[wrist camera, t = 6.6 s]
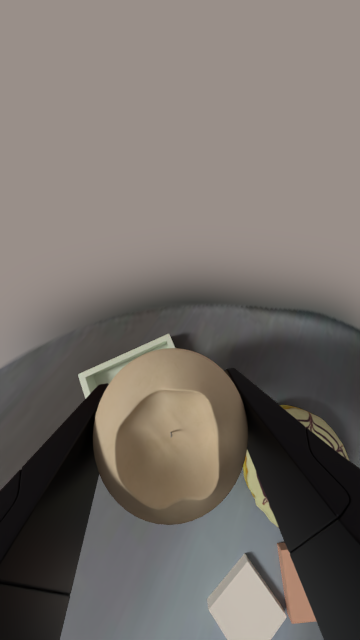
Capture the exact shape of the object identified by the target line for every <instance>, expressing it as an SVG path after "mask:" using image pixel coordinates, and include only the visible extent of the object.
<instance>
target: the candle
mask: <svg viewBox="0 0 360 640" xmlns="http://www.w3.org/2000/svg"><path fill="white" fill-rule="evenodd" d="M247 444H248V424H247V417H246V412H245V408H244V404H243V402H242V399H241V397H240V394H239V392H238V390H237V388H236V387H235V385H234V383H233V382H232V380H231V379H230V378H229V376H228V375H227V374H226V373H225V372H224V371H223V370H222V369H221V368H220V367H219V366H218V365H217V364H216V363H214V362H213V361H211V360H210V359H209V358H207V357H205V356H203V355H201V354H199V353H196V352H193V351H190V350H185V349H178V348H165V349H159V350H154V351H151V352H148V353H145V354H143V355H141V356H139V357H137V358H136V359H134V360H132V361H131V362H129V363H128V364H127V365H126V366H125V367H123V368H122V369H121V370H120V371H119V372H118V373H117V374H116V375H115V377H114V378H113V379H112V381H111V382H110V383H109V385H108V387H107V388H106V390H105V392H104V393H103V396H102V398H101V400H100V402H99V405H98V409H97V412H96V416H95V421H94V427H93V450H94V456H95V461H96V465H97V468H98V472H99V474H100V476H101V478H102V481H103V483H104V485H105V486H106V488H107V490H108V491H109V493H110V494H111V495H112V496H113V498H114V499H115V500H116V501H117V502H118V503H119V504H120V505H121V506H122V507H123V508H124V509H125V510H127V511H128V512H130V513H131V514H133V515H134V516H136V517H138V518H140V519H143V520H145V521H148V522H152V523H156V524H165V525H173V524H182V523H186V522H189V521H193V520H195V519H197V518H199V517H202V516H203V515H205V514H207V513H208V512H210V511H211V510H213V509H214V508H215V507H216V506H217V505H218V504H220V503H221V502H222V501H223V499H224V498H225V497H226V496H227V495H228V494H229V492H230V491H231V489H232V488H233V486H234V485H235V483H236V481H237V479H238V477H239V475H240V473H241V470H242V467H243V464H244V461H245V457H246V452H247Z"/></svg>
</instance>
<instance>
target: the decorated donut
mask: <svg viewBox="0 0 360 640" xmlns="http://www.w3.org/2000/svg"><path fill="white" fill-rule="evenodd" d="M280 406H281V407H282V408H284V409H285V410H286V411H287V412H288V413H290V414H291V415H292V416H293V417H295V418H296V419H297V420H298V421H299V422H301V423H302V424H303V425H304V426H305V427H306V428H308V429H309V430H310V431H312V432H313V433H314V434H315V435H317V436H318V437H319V438H320V439H322V440H323V441H324V442H325V443H327V444H328V445H329V446H330V447H332V448H333V449H334V450H335V451H337V452H338V453H339V454H341V455H342V456H344V457H345V458H346V459H348V456H347V453H346V451H345V448H344V446H343V444H342V442H341V441H340V440H339V438H338V437H337V435H336V434H335V432H334V431H333V430H332V428H331V427H330V426H329V425H327V423H326V422H325V421H324V420H322V419H321V418H320V417H318V416H316V415H313V414H312V413H310V412H307V411H305V410H303V409H300V408H297V407H293V406H289V405H280ZM348 460H349V459H348ZM243 470H244V478H245V481H246V483H247V486H248V488H249V489H250V491H251V493H252V495H253V497H254V498H255V502H256V505H257V506H258V507H259V508H260V509H261V510H262V511H263V512H264V513H265V514H266V516H267V517H268V518H269V520H270V521H271V522H272V523H274V524H275V525H276V526H277V527H278V524H277V522H276V519H275V517H274V514H273V512H272V509H271V507H270V504H269V502H268V499H267V497H266V495H265V492H264V490H263V487H262V485H261V482H260V480H259V477H258V475H257V472H256V470H255V467H254V465H253V462H252V460H251V457H250V455H249V452H248V450H247V452H246V457H245V461H244V464H243Z"/></svg>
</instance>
